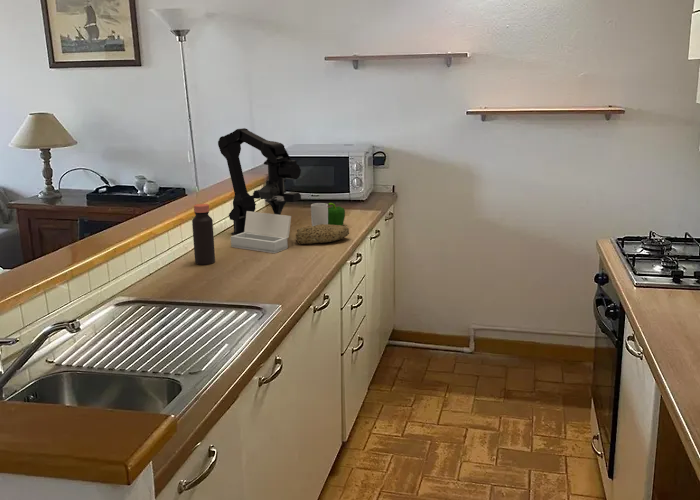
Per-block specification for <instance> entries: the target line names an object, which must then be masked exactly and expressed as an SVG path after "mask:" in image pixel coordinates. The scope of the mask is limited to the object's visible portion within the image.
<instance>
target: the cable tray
mask: <svg viewBox="0 0 700 500" xmlns="http://www.w3.org/2000/svg"><path fill="white" fill-rule="evenodd" d="M230 247H232V248H236V249H242V250H251V251H256V252H257V251H258V252H263V253H270V254H277V253H279V252H282V251H284V250H287V249H288V247H289V246H288V238H287V237H279V236H272V235H264V234H257V233H247V232H243V233H240V234H237V235H235V234H233V235H231V236H230Z"/></svg>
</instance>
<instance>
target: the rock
mask: <svg viewBox="0 0 700 500" xmlns="http://www.w3.org/2000/svg"><path fill="white" fill-rule="evenodd" d="M349 234H350V228H349V227H347V226H345V225H342V226H341V225H329V224H321V225H316V226H312V225H307V226H306V227H301V228H298V229H297V230H296V233H295V238H296V242H297V243H298V245H305V244H306V245H308V244H309V245H311V244H319V243H320V244H321V243H324V244H325V243H332V242H336V241H340V240H342V239H344V238H346V237H348V236H349Z"/></svg>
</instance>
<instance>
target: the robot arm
mask: <svg viewBox="0 0 700 500" xmlns="http://www.w3.org/2000/svg"><path fill="white" fill-rule="evenodd" d="M244 143H245V144H247V145H249V146H251V147H252V148H255V149H256V150H258V151H260V153H261V155H262V156H263V157H264V158H266V160H265V161H264V162H263V165H265V166H267V175H268V176H267V177H268V179H267V180H266V181H265V185H264V186H263V187H261V188H260V189H255V190H254V191H253V193H252V195H250V194H249V192H248V190H247V186H246V181H245V177H244V173H243V172H244V171H243V168H242V165H241V161H240V154H241V151H242V147H241V145H242V144H244ZM217 146H218V148H219V151H220V154H221V155H222V156H223V157H224V159H226V163H227V164H226V165H227V168H228V171H229V175H230V181H231V183H232V184H231V185H232V188H233V189H232V190H233V193H234V197H233V201H232V206H233V208H232V210H231V211H230V212H229V213H228V217H229V220H230V221H231V220H232V221H233V231H232V232H231V233H230V234H231V235H237V234H240V233H243V232H244V230H245V221H246V212H247V211H251V212H256V208H257V207H256V206H257V203H256V202H255V199H256V200H257V199H260V200H265V202H267V203H268V204H269V205H270V206H271V210H272V211H273V214H278V215H282V211H283V209H284V207H285V205H286V203H287V202H288V203H294V202H298V201H301V200H302V194H301V193H300V192H297V191H296V192H295V191H290V192H289V191H288V192H287V189H285V183H287V182H286V181H287V180H297V179H299V177H300V176H301V172H302V170H301V167H300V166H299V164H298V163H297V160H292V159H291V157H290V155H289V153H288V151H287V150H286V148H285V145H284V144H283V143H281V142H278V141H274V140H273V141H272V140H268V139H265V138H264V137H262V136H260V135H257V134H256V133H254V132H252V131H250V130H249V129H248V128H245V127H244V128H236V129H235V130H233V131H232V132H230V133H228V134H225V135H224V136H220V137H219V139H218V141H217ZM286 179H287V180H286ZM247 233H249V232H247Z"/></svg>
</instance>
